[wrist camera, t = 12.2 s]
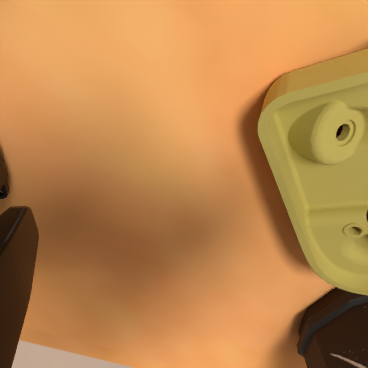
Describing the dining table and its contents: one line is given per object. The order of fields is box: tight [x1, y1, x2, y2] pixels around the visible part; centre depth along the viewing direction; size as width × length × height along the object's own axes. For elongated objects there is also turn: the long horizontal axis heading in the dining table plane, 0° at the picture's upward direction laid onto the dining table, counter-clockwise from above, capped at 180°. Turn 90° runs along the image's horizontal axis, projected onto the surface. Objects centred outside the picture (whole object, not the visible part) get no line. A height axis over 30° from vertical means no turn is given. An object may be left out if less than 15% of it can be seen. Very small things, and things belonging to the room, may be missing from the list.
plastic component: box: [258, 48, 368, 295], centre depth 24 cm, size 20×7×10 cm
